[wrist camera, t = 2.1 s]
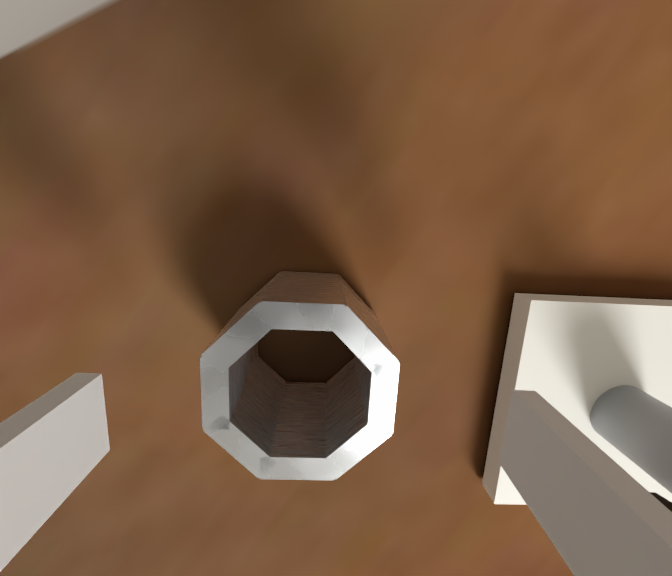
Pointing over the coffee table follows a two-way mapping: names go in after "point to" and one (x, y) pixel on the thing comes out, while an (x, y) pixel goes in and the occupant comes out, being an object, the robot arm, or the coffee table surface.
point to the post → (592, 380)
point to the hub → (299, 383)
